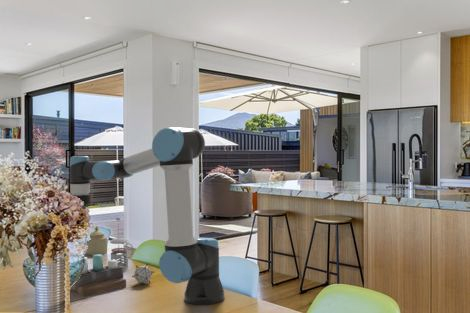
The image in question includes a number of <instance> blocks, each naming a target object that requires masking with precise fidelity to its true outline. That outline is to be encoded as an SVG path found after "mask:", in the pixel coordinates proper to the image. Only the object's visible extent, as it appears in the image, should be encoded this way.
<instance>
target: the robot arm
mask: <svg viewBox="0 0 470 313" xmlns="http://www.w3.org/2000/svg"><path fill="white" fill-rule="evenodd" d="M205 146H206V142H205V138H204V135H203V134H202V133H201V132H200V131H199V130H197V129H196V128H193V127H178V126H171V127H164V128H162V129H160V130H159V131H157V133H156V134H155V136H154V137H153V139H152V143H151V148H149V149H146V150H143V151H140V152H138V153H134V154H132V155H129V156H127V157H124V158H121V159H113V160H91V159H90V157H89V155H73V156H71V157H70V158H69V175H70V176H69V178H70V179H69V182H70V183H69V184H70V186H69V187H70V192H69V193H70V194H71V195H75V196H77V197H78V198H80V199H81V200H82V201H84V203H85V206H86V207H87V205H89V204H90V203H91V195H90V193H91V188H92V186H91V184H90V183H91V181H101V182H102V181H109V180H113V179H122V178H123V179H126V178H130V177H132V176H133V175H135V174H138V173H141V172H143V171H147V170H150V169H153V168H157V167H160V168H161V169H162V170H163V171H164V181H165V182H164V184H165V186H164V187H165V201H166V214H167V217H166V218H167V232H168V233H167V234H168V235H167V236H168V239H167V240H166V241H165V242H164V252H162V254H161V256H160V257H159V261H158V267H159V271H160V273H161V275H162V276H163V277H165V279H166V280H167V281H169V282H170V283H173V284H181V283H185V282H187V283H186V286H185V291H184V302H187V303H188V304H192V305H201V306H203V305H213V304H217V303H220V302H222V301H223V300H224V299H225V291H224V287H223V285H222V281H221V278H220V246H219V241H218V240H217V239H216V238H212V237H197V236H195V237H194V233H193V218H192V217H193V214H192V201H191V200H192V199H191V181H190V168H191V167H192V166H193V165H194V161H193V159H194V160H195V159H196V158H198V157H200V156H201V155H202V154H203V153H204V150H205V148H206V147H205ZM90 180H91V181H90ZM87 208H88V207H87ZM85 244H86V245H87V241H85ZM83 253H87V249H86V250H85V251H84V252H83Z"/></svg>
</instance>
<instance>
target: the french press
mask: <svg viewBox="0 0 470 313" xmlns="http://www.w3.org/2000/svg"><path fill="white" fill-rule="evenodd" d="M115 221H121V219H120V217H116V219H115ZM119 229H120V228H119V224H117V230H118V231H117V233H118V234H117V235H118V236H117V237H116V238H112V239H111V240H110V241H109V242H110V244H112V245H113V244H114V245H117V244H118V245H120V244H125V246H126V247H128V246H129V245H130V246H131V254H130V255H129V256H128V252H127V248H126V247H116V248H115V247H114V248H112V249H111V250H110V251H111V253H110V260H117V265H119V266H122V267H123V273H124V272H125V273H126V272H128V271H130V270H129V269H130V267H129V259H131V257H132V256H133V255H134V247H133V245H132V244H131V243H129V242H128V239H126V238H124V237H120V235H119V234H120V232H119V231H120V230H119Z"/></svg>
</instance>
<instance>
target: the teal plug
mask: <svg viewBox="0 0 470 313" xmlns="http://www.w3.org/2000/svg"><path fill="white" fill-rule="evenodd" d="M103 256H104V254H97V255H92V269H93V271H101V270H103V267H104V264H103V263H104V260H103Z"/></svg>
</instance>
